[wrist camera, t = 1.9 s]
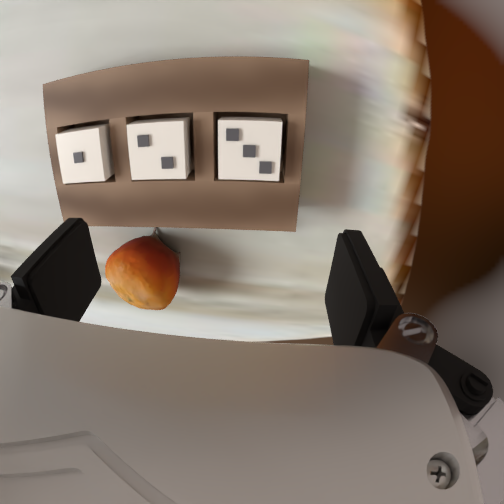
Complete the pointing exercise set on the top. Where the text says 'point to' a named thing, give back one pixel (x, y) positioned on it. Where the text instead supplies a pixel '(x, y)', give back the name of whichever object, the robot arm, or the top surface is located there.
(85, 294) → the robot arm
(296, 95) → the wooden slot board
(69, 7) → the top surface
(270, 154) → the button
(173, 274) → the fruit
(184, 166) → the button
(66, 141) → the button
